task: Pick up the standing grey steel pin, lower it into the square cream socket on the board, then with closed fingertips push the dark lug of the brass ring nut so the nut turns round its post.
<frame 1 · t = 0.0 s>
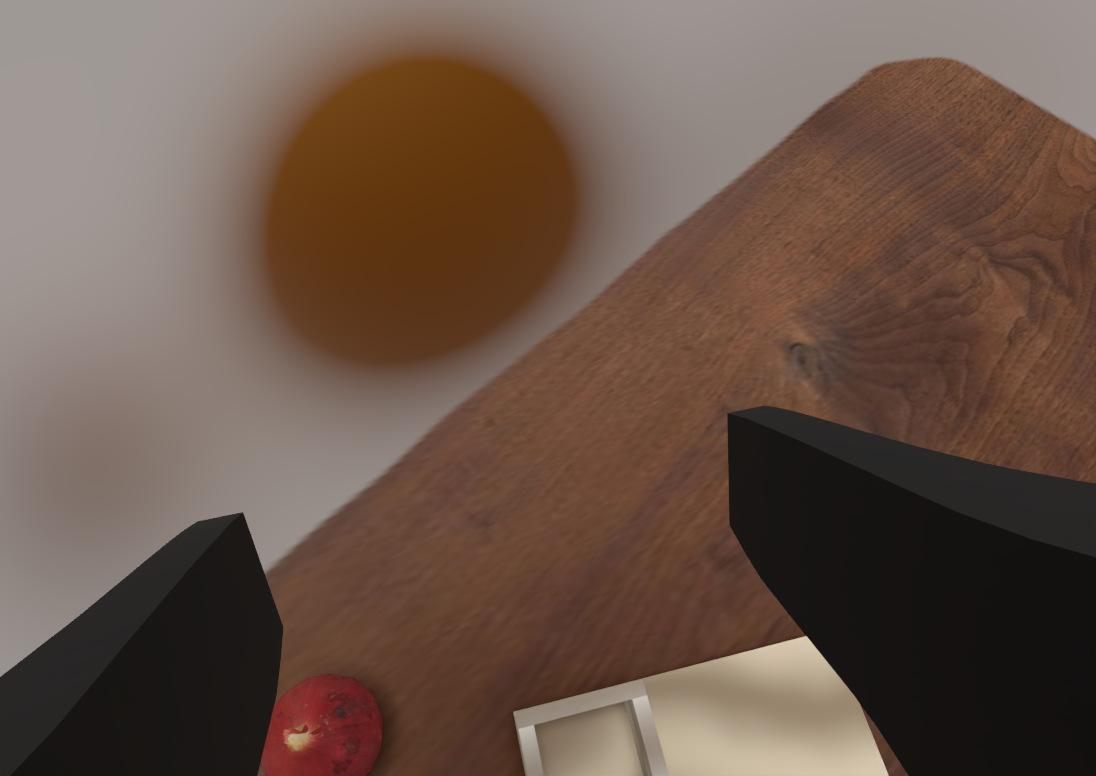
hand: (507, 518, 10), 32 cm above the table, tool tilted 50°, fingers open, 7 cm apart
onion: (341, 736, 37), on the table
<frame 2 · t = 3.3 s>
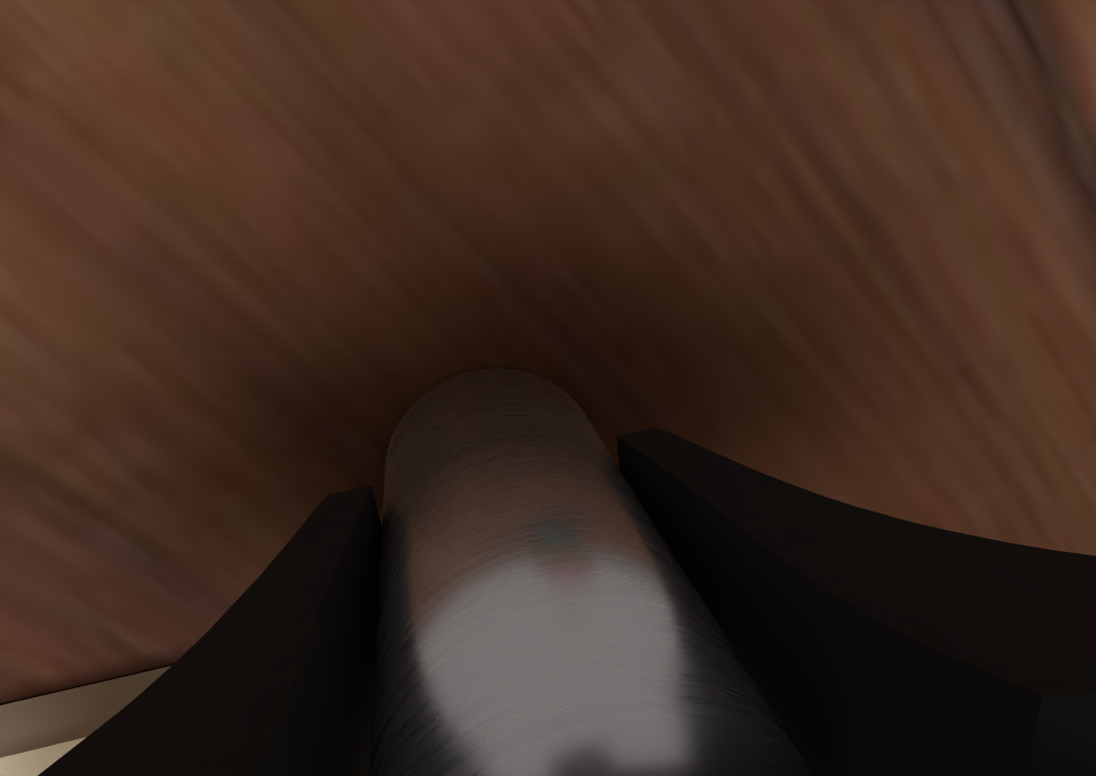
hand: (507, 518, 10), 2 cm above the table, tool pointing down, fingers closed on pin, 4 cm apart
pin: (493, 467, 11), on the table, touching gripper
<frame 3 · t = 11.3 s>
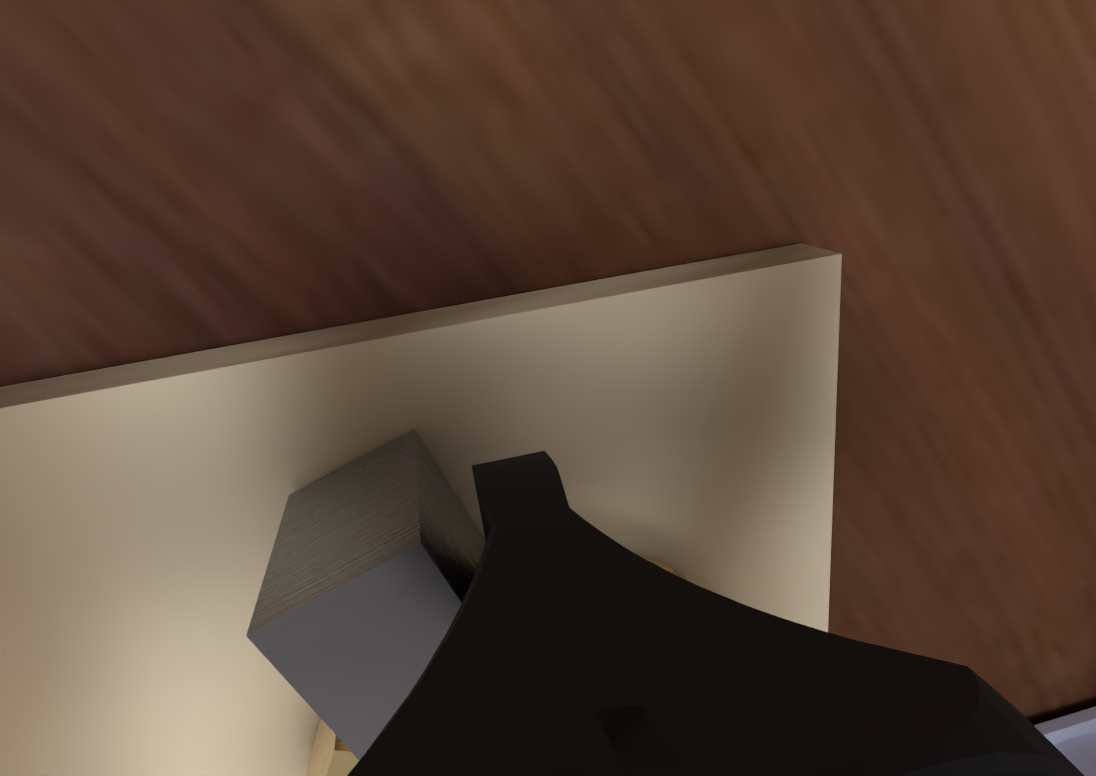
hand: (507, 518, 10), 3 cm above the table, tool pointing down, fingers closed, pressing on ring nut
board: (416, 747, 15), on the table
ring nut: (514, 746, 11), point 3 cm above the table, hinge at 17.9°, touching gripper
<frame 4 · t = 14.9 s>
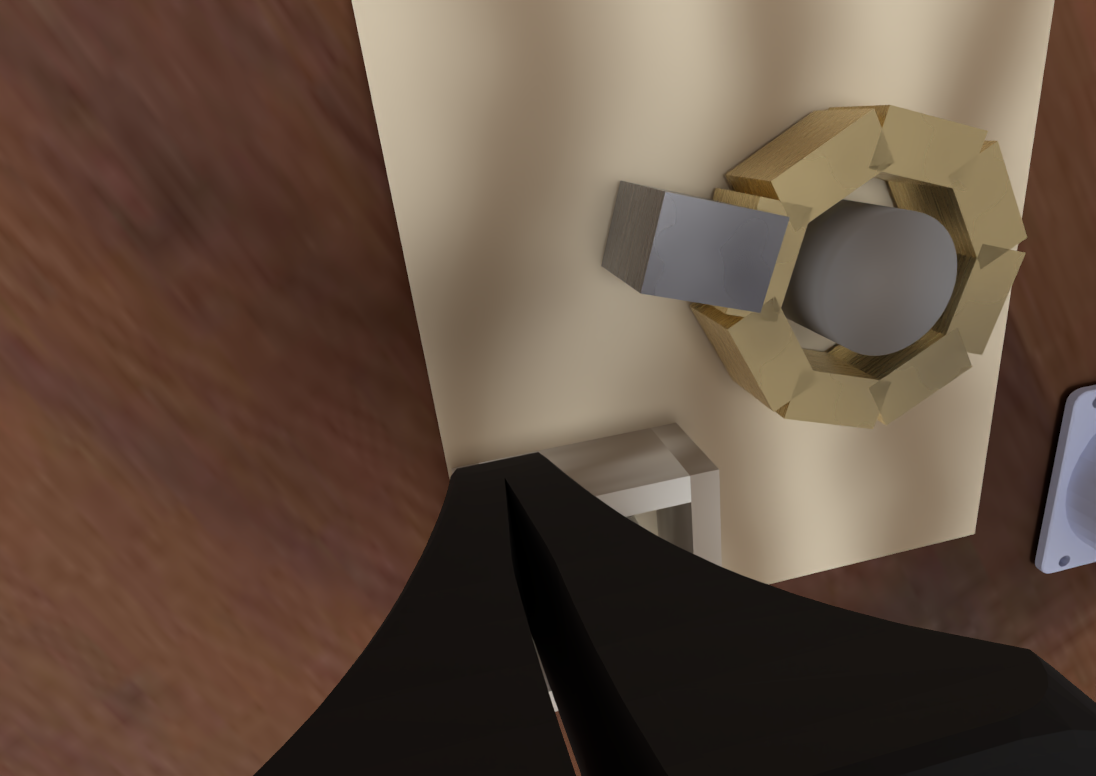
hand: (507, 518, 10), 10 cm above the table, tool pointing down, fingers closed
board: (722, 317, 20), on the table
ring nut: (818, 268, 17), point 3 cm above the table, hinge at 71.5°
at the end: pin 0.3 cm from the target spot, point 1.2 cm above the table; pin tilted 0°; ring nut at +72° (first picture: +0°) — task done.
